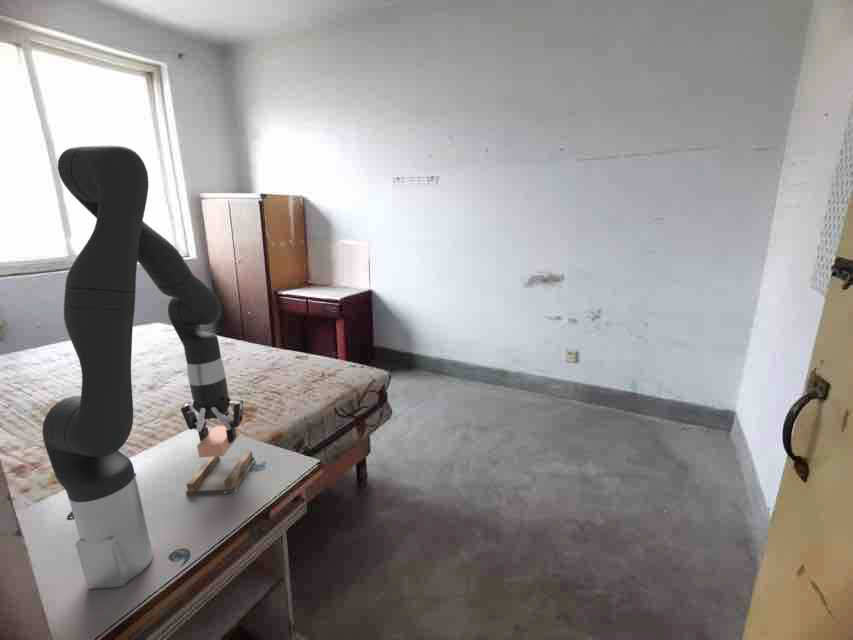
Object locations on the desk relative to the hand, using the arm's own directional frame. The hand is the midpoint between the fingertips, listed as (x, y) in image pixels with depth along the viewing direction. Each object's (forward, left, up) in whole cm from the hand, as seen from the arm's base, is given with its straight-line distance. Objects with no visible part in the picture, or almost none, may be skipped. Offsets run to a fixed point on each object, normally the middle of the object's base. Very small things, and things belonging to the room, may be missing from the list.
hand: (219, 442), depth 99 cm
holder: (-1, 0, -9) cm, 9 cm away
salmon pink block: (0, 0, -1) cm, 1 cm away
